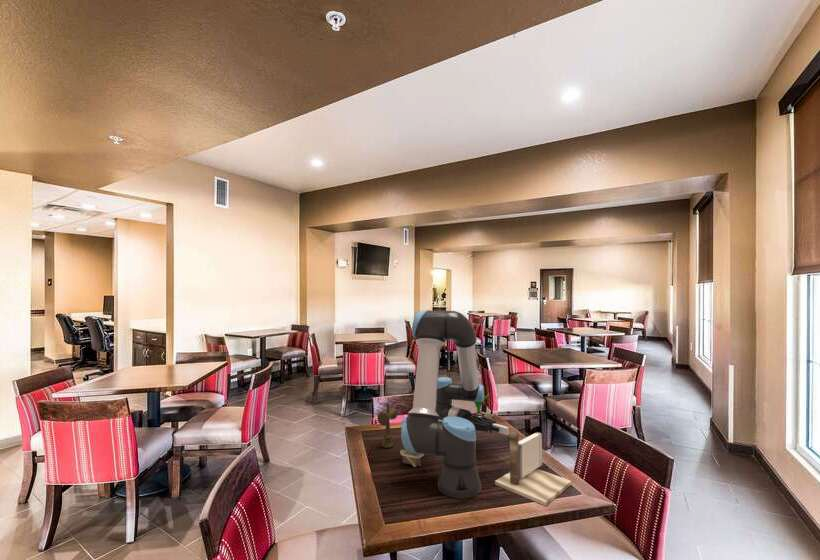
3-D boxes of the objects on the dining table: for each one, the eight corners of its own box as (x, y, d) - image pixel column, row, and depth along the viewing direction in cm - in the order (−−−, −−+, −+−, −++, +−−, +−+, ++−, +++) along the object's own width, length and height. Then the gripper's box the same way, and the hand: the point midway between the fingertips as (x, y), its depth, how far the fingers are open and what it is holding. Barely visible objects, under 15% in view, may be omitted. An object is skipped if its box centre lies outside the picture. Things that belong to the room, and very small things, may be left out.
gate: (519, 479, 131) (519, 445, 132) (514, 477, 133) (514, 443, 133) (542, 464, 143) (541, 433, 144) (537, 463, 144) (536, 432, 145)
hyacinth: (491, 431, 185) (491, 371, 186) (471, 431, 185) (471, 371, 186) (488, 425, 193) (488, 367, 195) (469, 425, 194) (468, 367, 195)
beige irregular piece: (425, 477, 138) (425, 459, 138) (383, 468, 145) (383, 451, 146) (437, 464, 149) (436, 447, 149) (397, 456, 156) (397, 440, 156)
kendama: (376, 449, 162) (376, 403, 163) (386, 441, 171) (386, 398, 172) (388, 451, 160) (388, 405, 161) (398, 443, 169) (398, 399, 170)
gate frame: (545, 506, 118) (544, 444, 119) (495, 484, 132) (494, 429, 133) (571, 484, 132) (570, 429, 133) (523, 466, 146) (522, 417, 147)
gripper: (469, 422, 168) (515, 436, 151) (451, 429, 159) (498, 445, 142) (469, 405, 168) (515, 417, 151) (451, 412, 159) (498, 426, 142)
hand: (507, 431), depth 147 cm, fingers closed
